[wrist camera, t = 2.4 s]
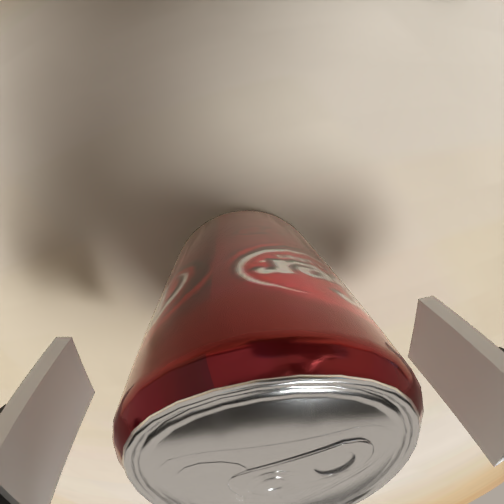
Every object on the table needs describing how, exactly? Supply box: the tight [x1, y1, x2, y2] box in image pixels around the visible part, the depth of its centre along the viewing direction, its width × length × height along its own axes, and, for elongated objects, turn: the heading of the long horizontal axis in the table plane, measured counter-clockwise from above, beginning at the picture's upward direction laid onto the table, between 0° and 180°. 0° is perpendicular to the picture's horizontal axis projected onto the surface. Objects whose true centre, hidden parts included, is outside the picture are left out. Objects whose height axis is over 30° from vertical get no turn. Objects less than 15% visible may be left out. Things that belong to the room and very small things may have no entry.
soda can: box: [112, 210, 424, 504], centre depth 11 cm, size 7×7×12 cm
